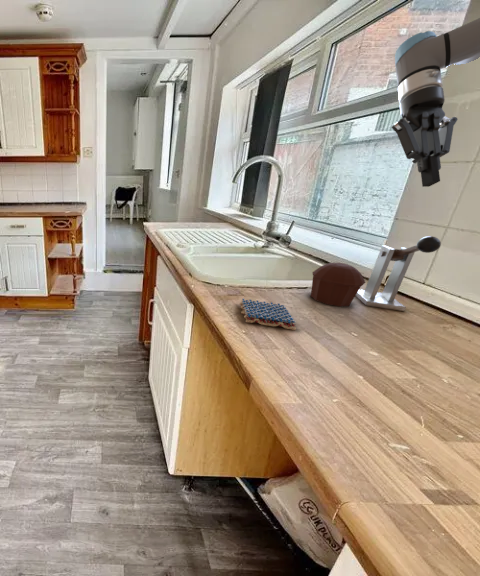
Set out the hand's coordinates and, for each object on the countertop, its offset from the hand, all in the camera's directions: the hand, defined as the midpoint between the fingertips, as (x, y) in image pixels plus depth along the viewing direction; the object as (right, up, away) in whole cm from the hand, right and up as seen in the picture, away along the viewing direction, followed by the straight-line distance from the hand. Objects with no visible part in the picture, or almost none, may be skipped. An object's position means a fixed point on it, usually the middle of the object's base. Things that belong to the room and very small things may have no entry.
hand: (431, 183), depth 73 cm
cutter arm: (-6, -18, -1) cm, 19 cm away
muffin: (-17, -28, +10) cm, 35 cm away
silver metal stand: (-4, -29, +10) cm, 31 cm away
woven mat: (-41, -32, -2) cm, 52 cm away
